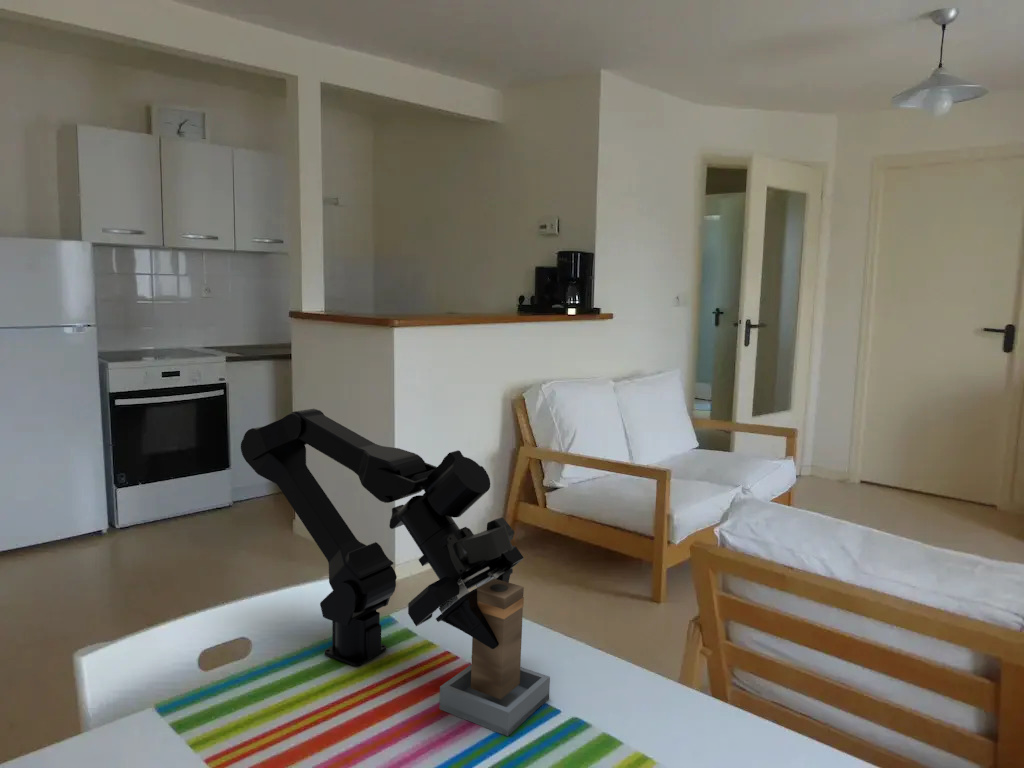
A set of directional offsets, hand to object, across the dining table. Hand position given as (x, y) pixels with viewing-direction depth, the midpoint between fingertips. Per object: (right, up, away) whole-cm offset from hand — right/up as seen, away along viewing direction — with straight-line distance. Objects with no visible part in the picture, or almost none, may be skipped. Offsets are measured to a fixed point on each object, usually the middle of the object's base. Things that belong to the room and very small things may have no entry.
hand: (506, 639), depth 93 cm
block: (-1, -6, +2) cm, 7 cm away
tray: (-1, -9, +2) cm, 9 cm away
